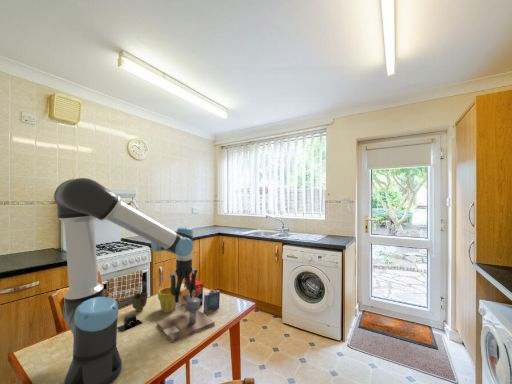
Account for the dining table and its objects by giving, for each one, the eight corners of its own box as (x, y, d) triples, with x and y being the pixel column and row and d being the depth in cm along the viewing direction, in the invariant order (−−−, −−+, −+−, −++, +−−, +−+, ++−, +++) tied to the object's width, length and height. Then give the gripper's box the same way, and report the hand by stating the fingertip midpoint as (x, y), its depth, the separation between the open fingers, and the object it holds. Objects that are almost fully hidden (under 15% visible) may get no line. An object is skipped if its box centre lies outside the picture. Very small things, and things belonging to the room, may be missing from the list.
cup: (140, 315, 114) (140, 298, 115) (127, 313, 116) (128, 297, 116) (150, 308, 122) (150, 293, 122) (137, 306, 123) (138, 291, 123)
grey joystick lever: (202, 309, 105) (202, 296, 106) (189, 313, 101) (190, 300, 102) (187, 299, 116) (187, 286, 117) (175, 302, 112) (175, 290, 112)
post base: (170, 343, 92) (171, 323, 93) (155, 325, 105) (156, 308, 105) (214, 325, 106) (214, 308, 107) (196, 311, 119) (197, 296, 119)
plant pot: (166, 316, 114) (166, 296, 114) (153, 310, 119) (153, 291, 120) (182, 308, 123) (183, 289, 123) (170, 303, 128) (170, 285, 128)
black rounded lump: (140, 318, 112) (140, 309, 112) (147, 323, 108) (147, 313, 108) (111, 329, 102) (112, 319, 102) (118, 335, 98) (119, 325, 98)
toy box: (202, 305, 126) (203, 283, 127) (195, 307, 124) (196, 285, 124) (190, 294, 141) (190, 274, 141) (183, 295, 138) (184, 276, 139)
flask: (205, 313, 117) (205, 292, 118) (202, 311, 119) (202, 290, 120) (220, 308, 123) (220, 287, 124) (217, 306, 126) (217, 286, 126)
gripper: (196, 254, 122) (195, 299, 121) (164, 260, 110) (162, 309, 110) (203, 257, 117) (202, 304, 116) (170, 263, 105) (168, 315, 104)
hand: (183, 306), depth 113 cm, fingers closed on grey joystick lever, 4 cm apart
